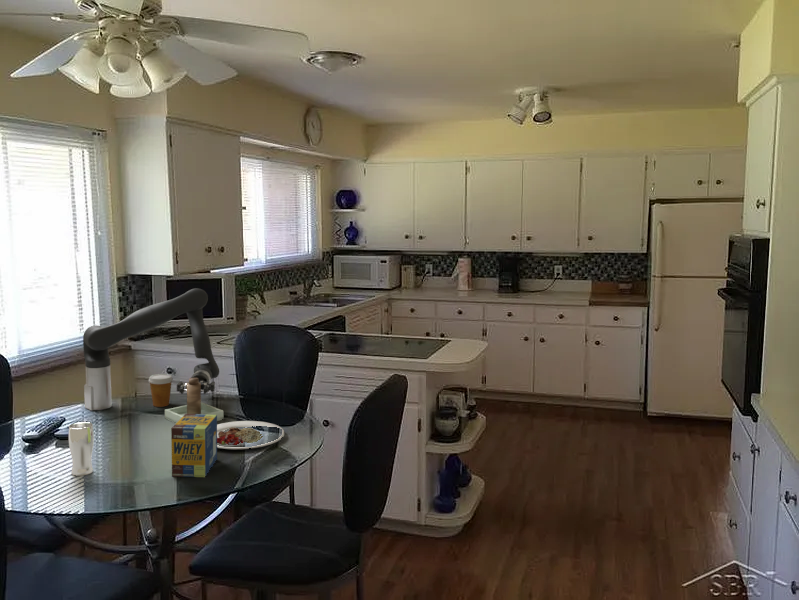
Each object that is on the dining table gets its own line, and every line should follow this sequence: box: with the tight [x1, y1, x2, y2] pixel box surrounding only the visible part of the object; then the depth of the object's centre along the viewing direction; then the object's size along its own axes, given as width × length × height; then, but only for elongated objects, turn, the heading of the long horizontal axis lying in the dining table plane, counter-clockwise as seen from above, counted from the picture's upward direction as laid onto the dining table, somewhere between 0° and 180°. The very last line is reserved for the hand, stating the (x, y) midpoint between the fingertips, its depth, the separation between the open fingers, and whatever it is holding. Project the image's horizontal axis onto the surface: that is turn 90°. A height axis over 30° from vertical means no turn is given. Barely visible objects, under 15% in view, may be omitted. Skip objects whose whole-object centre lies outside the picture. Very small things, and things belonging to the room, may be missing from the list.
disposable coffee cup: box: [148, 373, 174, 408], centre depth 282 cm, size 10×10×12 cm
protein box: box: [170, 414, 218, 478], centre depth 215 cm, size 10×15×16 cm
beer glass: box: [68, 421, 95, 477], centre depth 209 cm, size 7×7×15 cm
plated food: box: [217, 420, 285, 450], centre depth 245 cm, size 30×30×3 cm
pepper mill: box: [186, 377, 202, 414], centre depth 264 cm, size 5×5×15 cm
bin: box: [164, 401, 224, 424], centre depth 265 cm, size 16×16×4 cm
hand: (193, 391), depth 262 cm, fingers open, 8 cm apart
